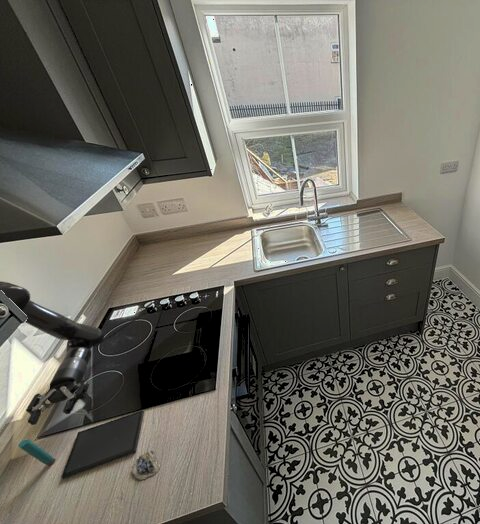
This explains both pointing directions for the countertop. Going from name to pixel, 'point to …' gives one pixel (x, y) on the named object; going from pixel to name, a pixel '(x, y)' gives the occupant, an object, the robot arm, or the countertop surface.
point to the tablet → (104, 444)
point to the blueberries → (145, 466)
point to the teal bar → (36, 452)
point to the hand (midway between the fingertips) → (49, 418)
